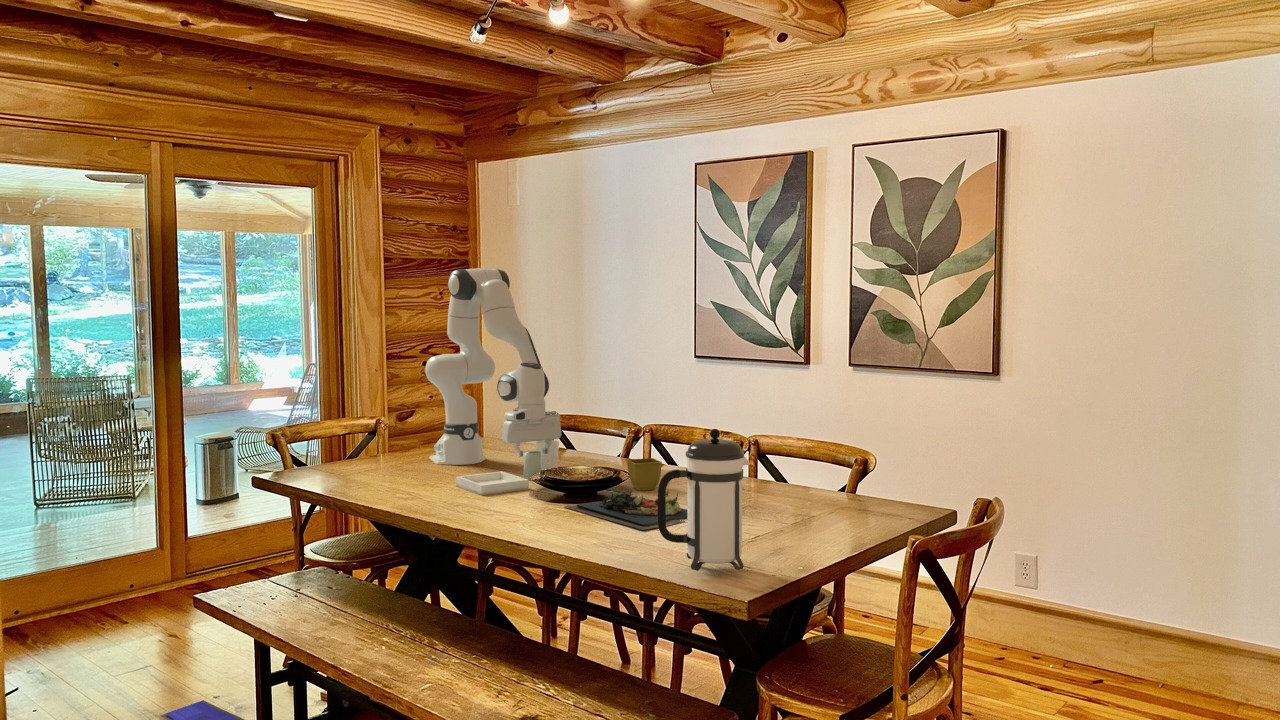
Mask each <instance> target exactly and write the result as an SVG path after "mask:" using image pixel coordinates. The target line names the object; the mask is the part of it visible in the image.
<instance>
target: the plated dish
mask: <svg viewBox="0 0 1280 720" xmlns="http://www.w3.org/2000/svg"><path fill="white" fill-rule="evenodd" d="M609 493H610V496H606V498H604V499H603V500H602V501H594V502H593V501H592V502H586V503H584V502H583V503H579V504H574V505H567V506H564V508H566V509H569V510H573V511H577V512H580V513H584V514H587V515H591V516H594V517H597V518H600V519H604V520H606V521H607V520H608V521H611V522H614V523H618V524H620V525H621V524H622V525H624V526H628V527H631V528H635V529H638V530H641V531H644V530H645V531H646V530H651V529H655V528H656V529H657V528H659V527H658V497H656V498H655V499H650V498H646V497H644V494H643V493H642V492H641V494H640V495H638V496H637V495H633V494H632V493H633V492H632V491H630V492H628V491H621V492H617V493H616V491H614V490H610V492H609ZM678 495H679V491H677V493H676V496H675V497H673V496H670V495H669V489H666V527H668V526H673V525H678V524H683V523H686V522H685V521H686V520H687V508H682V507H681V505H680V503H679V502H678V500H679V499H678V498H679V497H678ZM680 520H681V521H680ZM682 520H683V521H682Z"/></svg>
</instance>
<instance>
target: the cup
mask: <svg viewBox="0 0 1280 720" xmlns="http://www.w3.org/2000/svg"><path fill="white" fill-rule="evenodd" d="M522 458H523V478H524V479H528V482H529V481H531V478H530V477H531V476H532V475H533V474H535V473H538V472H541V473H542V471H541V452H540V451H536V450H526V451H523V456H522Z"/></svg>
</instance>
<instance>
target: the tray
mask: <svg viewBox="0 0 1280 720" xmlns="http://www.w3.org/2000/svg"><path fill="white" fill-rule="evenodd" d="M455 486H456V487H458V488H460V489H463V490H466V491H467V492H468V491H469V492H471V493H474V494H476V495H479V496H489V495H490V496H491V495H495V494H504V493H512V492H518V491H520V492H521V491H528V490H530V487H529V480H528V479H524V477H521V476H517V475H515V474H511V473H509V472H506V471H502V470H501V471H493V472H483V473H476V474H467V475H460V476H455Z"/></svg>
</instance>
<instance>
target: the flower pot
mask: <svg viewBox="0 0 1280 720" xmlns="http://www.w3.org/2000/svg"><path fill="white" fill-rule="evenodd" d="M626 462H627V471H628V477H629V480H630V482H631V484H632V486H633V488H634V489H636V490H638V491H640V492H642V491H654V490H656V488H657V486H659V483H660V480H661V473H662V464H663V462H662V461H660V460H657V459H656V458H654V457H649V458H646V457H645V458H632V459H631V458H629V459H626Z"/></svg>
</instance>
